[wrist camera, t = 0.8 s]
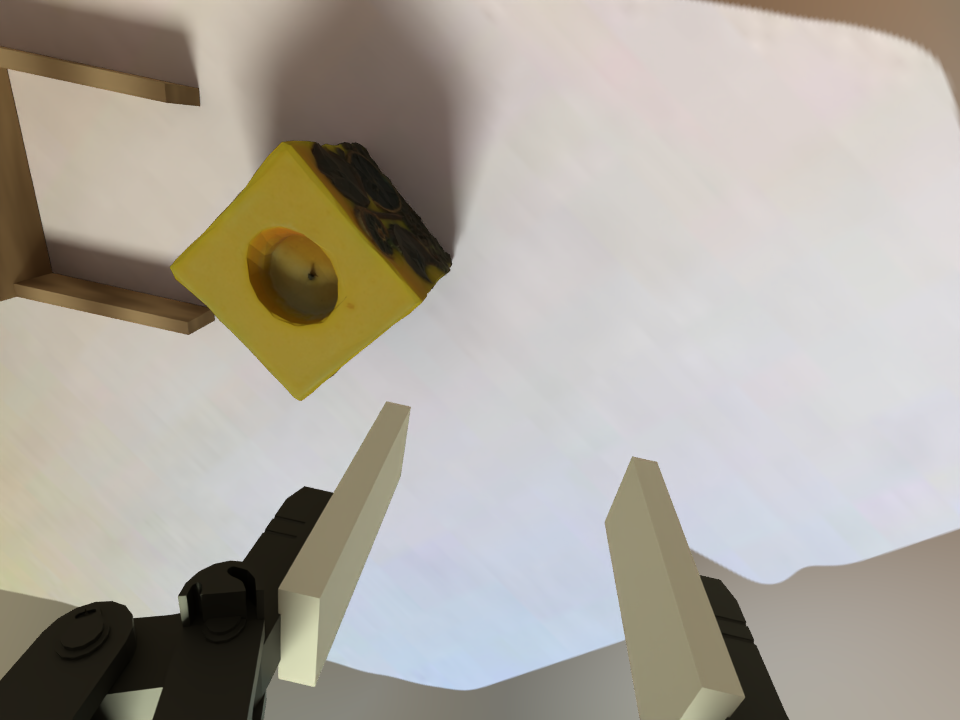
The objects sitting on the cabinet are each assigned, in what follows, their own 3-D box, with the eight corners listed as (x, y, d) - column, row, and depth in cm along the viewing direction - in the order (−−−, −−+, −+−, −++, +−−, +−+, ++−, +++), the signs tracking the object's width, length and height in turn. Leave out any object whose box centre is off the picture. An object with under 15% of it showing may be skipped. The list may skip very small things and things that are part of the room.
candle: (359, 342, 36) (300, 409, 27) (261, 236, 33) (158, 272, 24) (459, 262, 32) (429, 309, 23) (359, 137, 30) (281, 135, 21)
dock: (42, 282, 37) (-43, 306, 31) (-14, 43, 30) (-137, 21, 24) (214, 320, 36) (158, 351, 31) (198, 88, 29) (122, 76, 24)
